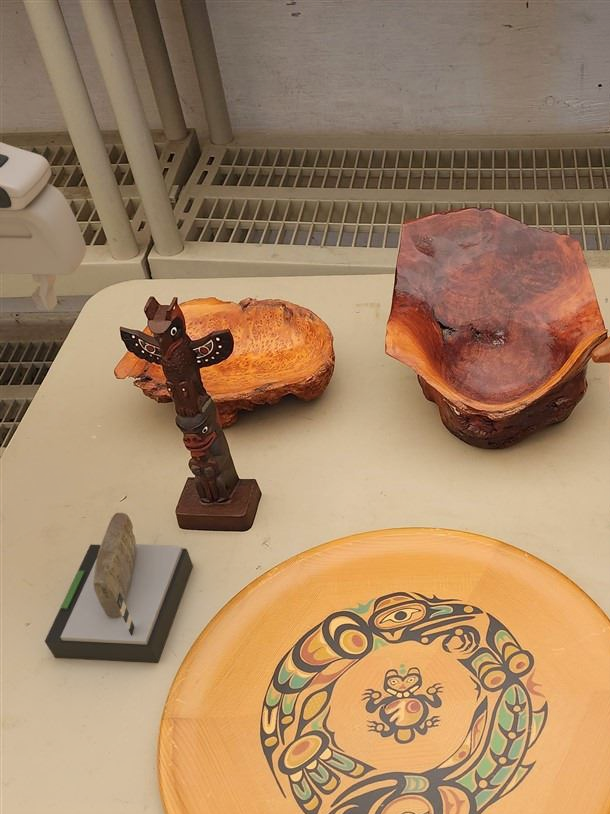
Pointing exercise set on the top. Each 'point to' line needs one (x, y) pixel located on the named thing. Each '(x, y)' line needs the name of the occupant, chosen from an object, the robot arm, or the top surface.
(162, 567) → the scale
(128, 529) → the brown stone with scale
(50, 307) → the robot arm
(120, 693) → the top surface
